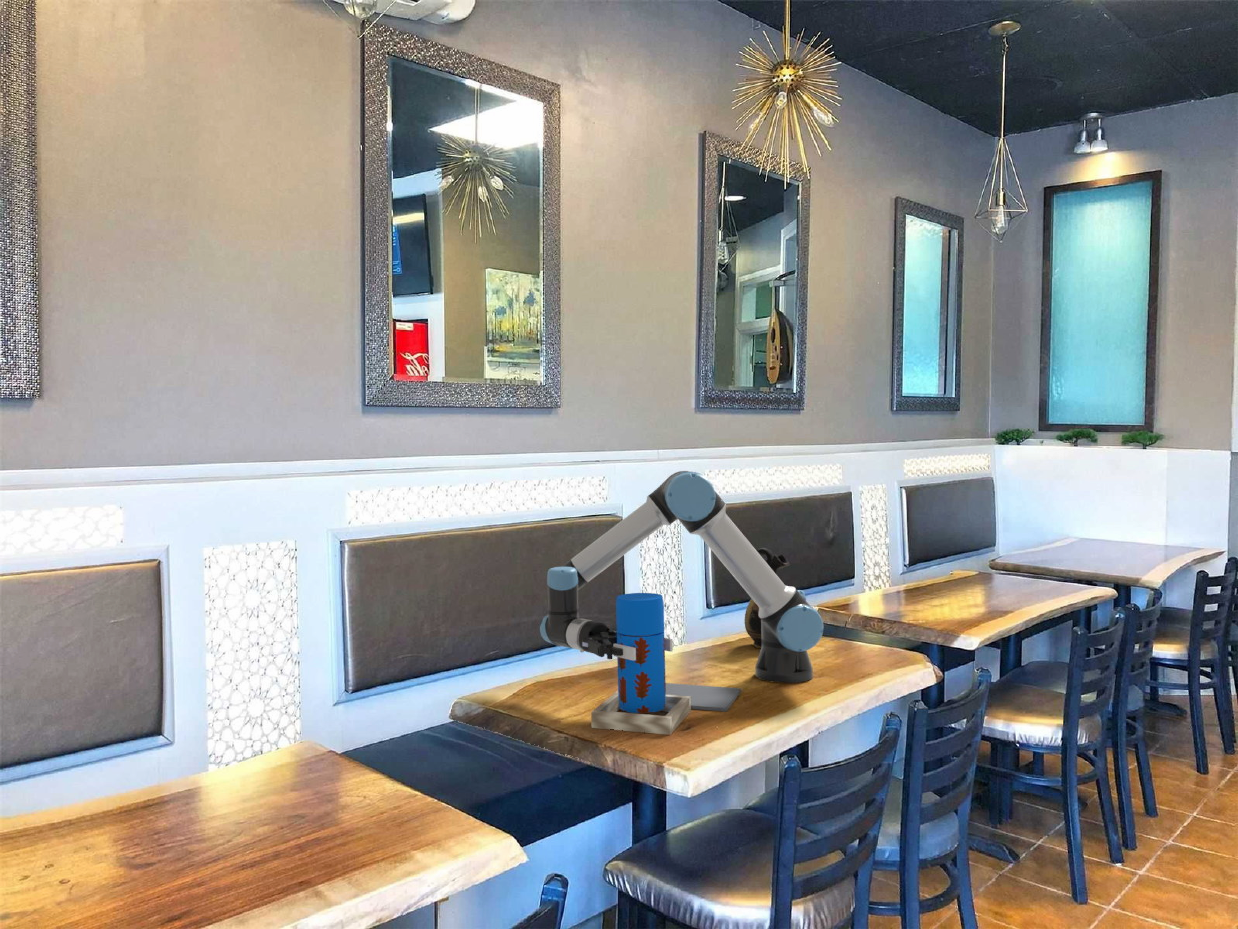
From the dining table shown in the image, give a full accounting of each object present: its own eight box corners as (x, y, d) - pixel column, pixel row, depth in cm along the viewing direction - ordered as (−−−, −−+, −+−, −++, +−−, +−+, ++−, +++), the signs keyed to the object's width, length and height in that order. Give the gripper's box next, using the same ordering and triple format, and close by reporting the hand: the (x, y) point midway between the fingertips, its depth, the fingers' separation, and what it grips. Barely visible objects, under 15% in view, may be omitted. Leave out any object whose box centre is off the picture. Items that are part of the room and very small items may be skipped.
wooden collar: (690, 711, 214) (690, 696, 214) (670, 734, 197) (670, 718, 197) (617, 705, 219) (617, 691, 219) (591, 727, 202) (591, 712, 202)
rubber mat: (741, 691, 230) (741, 688, 230) (726, 711, 213) (726, 708, 213) (664, 686, 236) (664, 683, 236) (644, 705, 219) (644, 701, 219)
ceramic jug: (805, 645, 281) (804, 548, 280) (777, 654, 270) (776, 553, 269) (759, 638, 292) (758, 544, 292) (730, 646, 281) (729, 549, 280)
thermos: (666, 713, 202) (664, 600, 202) (618, 714, 203) (615, 601, 202) (665, 699, 213) (662, 592, 213) (619, 700, 214) (616, 593, 213)
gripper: (625, 643, 229) (689, 657, 213) (551, 660, 213) (615, 676, 197) (624, 613, 229) (688, 625, 212) (550, 628, 213) (614, 641, 197)
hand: (653, 649), depth 205 cm, fingers closed on thermos, 11 cm apart
